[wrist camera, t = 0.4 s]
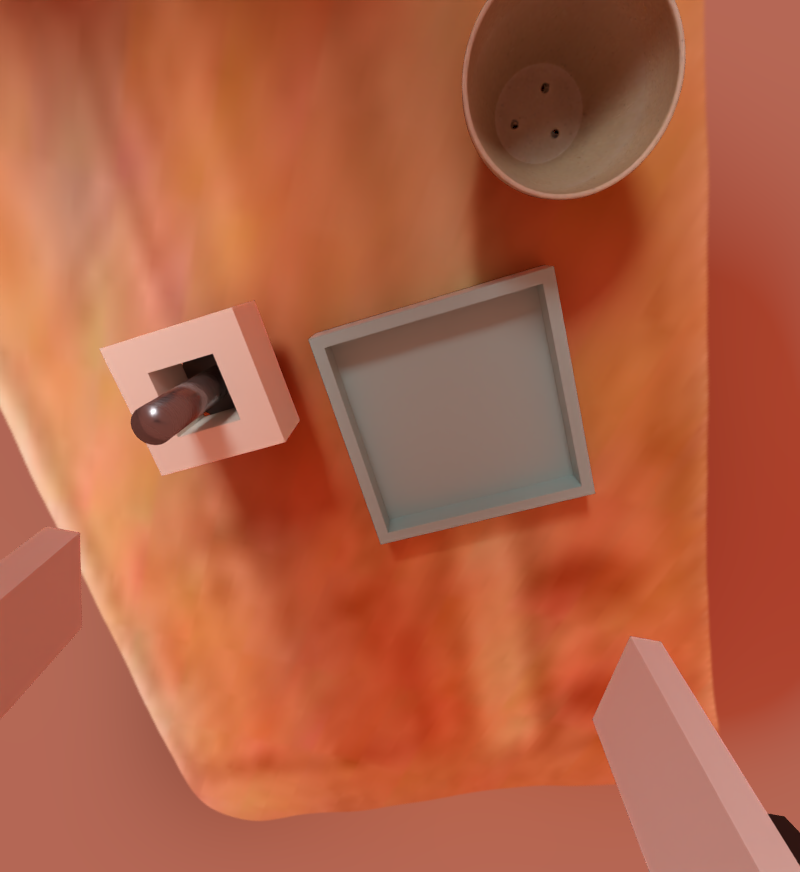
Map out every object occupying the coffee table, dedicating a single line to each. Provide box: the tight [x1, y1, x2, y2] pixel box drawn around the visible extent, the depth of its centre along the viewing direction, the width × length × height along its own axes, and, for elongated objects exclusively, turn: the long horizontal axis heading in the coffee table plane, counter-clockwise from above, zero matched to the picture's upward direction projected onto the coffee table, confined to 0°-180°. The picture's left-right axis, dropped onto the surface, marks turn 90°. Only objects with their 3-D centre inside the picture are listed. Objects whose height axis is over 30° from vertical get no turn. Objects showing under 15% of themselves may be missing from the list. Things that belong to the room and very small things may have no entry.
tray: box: [308, 265, 595, 544], centre depth 35 cm, size 16×16×2 cm
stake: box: [131, 354, 235, 445], centre depth 30 cm, size 5×5×12 cm
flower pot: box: [462, 0, 685, 200], centre depth 26 cm, size 10×10×7 cm
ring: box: [100, 301, 300, 476], centre depth 31 cm, size 8×8×4 cm
